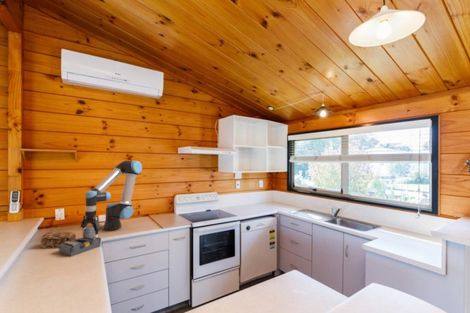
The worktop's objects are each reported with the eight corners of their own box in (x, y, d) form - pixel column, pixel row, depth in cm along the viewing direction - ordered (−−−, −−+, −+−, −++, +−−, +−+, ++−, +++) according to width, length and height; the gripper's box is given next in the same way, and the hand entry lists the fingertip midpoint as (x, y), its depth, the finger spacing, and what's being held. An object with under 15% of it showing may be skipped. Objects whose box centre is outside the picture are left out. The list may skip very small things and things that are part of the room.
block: (93, 238, 191) (94, 226, 192) (96, 238, 190) (96, 226, 190) (83, 241, 183) (83, 228, 183) (85, 242, 182) (85, 229, 182)
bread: (40, 249, 167) (40, 235, 167) (48, 243, 177) (49, 230, 178) (69, 247, 171) (69, 234, 171) (76, 242, 181) (76, 229, 181)
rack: (88, 243, 180) (89, 234, 180) (101, 246, 174) (101, 236, 174) (59, 253, 160) (59, 242, 161) (71, 256, 155) (72, 246, 155)
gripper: (75, 209, 189) (75, 236, 188) (97, 213, 179) (96, 241, 178) (85, 208, 196) (84, 233, 195) (105, 211, 186) (105, 238, 185)
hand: (89, 237), depth 187 cm, fingers open, 13 cm apart
